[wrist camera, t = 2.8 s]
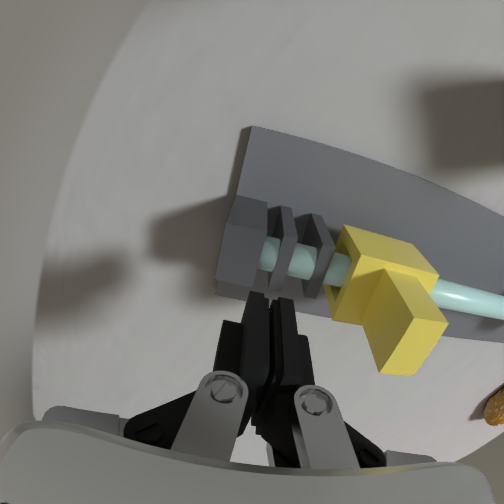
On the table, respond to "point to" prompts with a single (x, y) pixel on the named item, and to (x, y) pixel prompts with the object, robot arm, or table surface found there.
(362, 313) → the sleeve
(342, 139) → the table surface
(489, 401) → the bagel
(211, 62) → the table surface
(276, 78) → the table surface
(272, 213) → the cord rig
